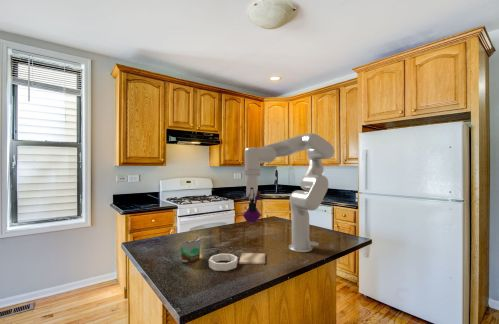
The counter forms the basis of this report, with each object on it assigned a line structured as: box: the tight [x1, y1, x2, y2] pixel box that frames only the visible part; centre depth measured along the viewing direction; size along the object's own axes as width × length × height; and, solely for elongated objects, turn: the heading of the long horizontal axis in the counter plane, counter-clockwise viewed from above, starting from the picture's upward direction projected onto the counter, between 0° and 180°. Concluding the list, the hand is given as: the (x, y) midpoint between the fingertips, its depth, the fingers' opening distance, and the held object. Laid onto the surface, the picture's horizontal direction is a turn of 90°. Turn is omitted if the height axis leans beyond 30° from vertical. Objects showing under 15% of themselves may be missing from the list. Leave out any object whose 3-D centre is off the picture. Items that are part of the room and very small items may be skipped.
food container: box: [179, 236, 203, 265], centre depth 122 cm, size 12×6×10 cm, turn 148°
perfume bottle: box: [242, 188, 262, 224], centre depth 125 cm, size 8×8×18 cm
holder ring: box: [208, 253, 238, 272], centre depth 117 cm, size 12×12×3 cm
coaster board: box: [238, 252, 266, 265], centre depth 124 cm, size 12×12×1 cm
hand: (252, 209), depth 124 cm, fingers closed on perfume bottle, 5 cm apart
